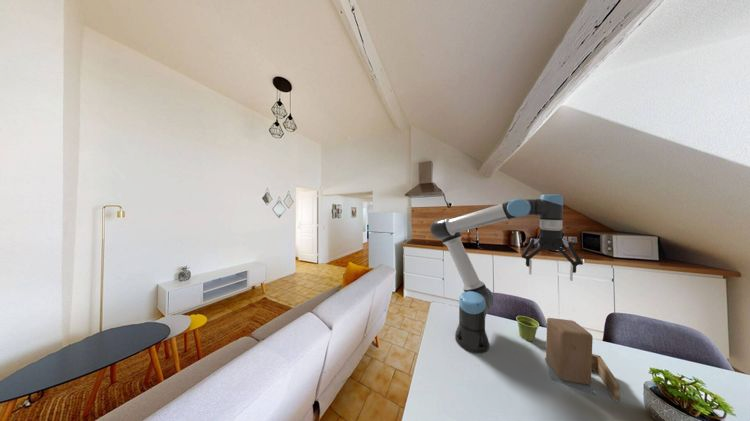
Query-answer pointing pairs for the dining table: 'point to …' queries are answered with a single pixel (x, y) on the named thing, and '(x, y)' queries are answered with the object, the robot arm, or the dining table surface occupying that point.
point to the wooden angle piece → (606, 376)
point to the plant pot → (527, 327)
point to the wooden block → (569, 350)
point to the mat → (580, 386)
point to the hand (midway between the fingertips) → (549, 276)
